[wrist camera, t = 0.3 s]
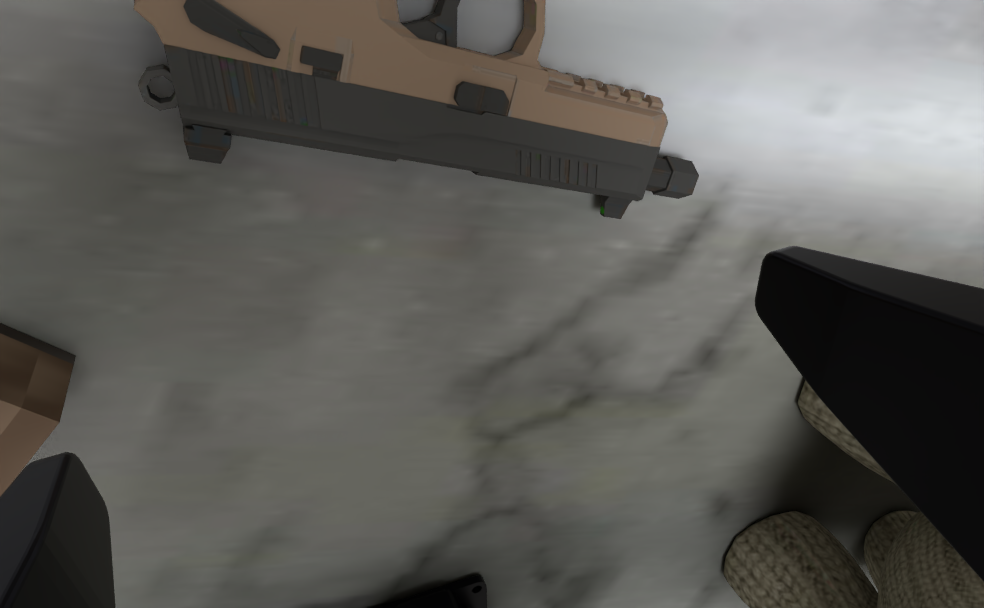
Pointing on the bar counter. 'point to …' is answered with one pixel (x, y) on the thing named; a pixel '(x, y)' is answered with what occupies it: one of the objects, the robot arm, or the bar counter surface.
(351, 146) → the handgun
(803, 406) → the toy
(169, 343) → the bar counter surface
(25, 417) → the tray box
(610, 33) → the bar counter surface
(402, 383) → the bar counter surface
